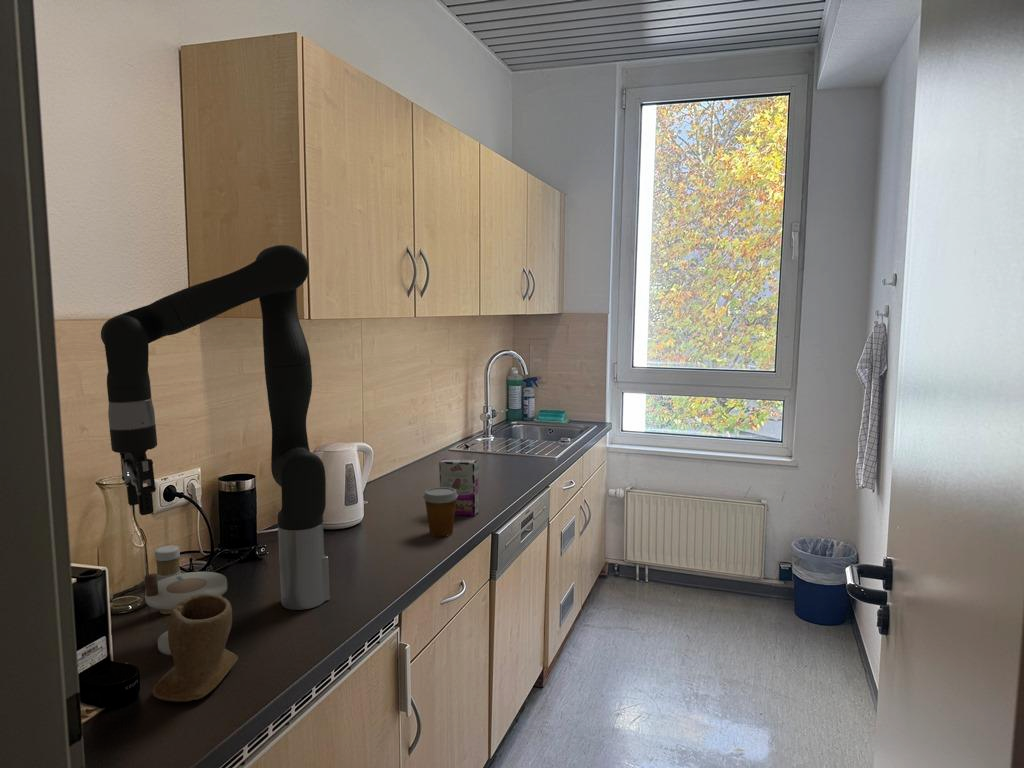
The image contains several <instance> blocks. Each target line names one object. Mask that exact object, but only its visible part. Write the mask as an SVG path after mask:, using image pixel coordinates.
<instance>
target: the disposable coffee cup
mask: <svg viewBox="0 0 1024 768" xmlns="http://www.w3.org/2000/svg"><path fill="white" fill-rule="evenodd" d="M457 497H458V494H457V492H456V490H455V489H453V488H447V487H440V486H439V487H432V488H428V489H426V490H425V491H424V493H423V499H424V501H425V508H426V515H427V523H428V528H429V534H431V535H430V536H432V535H434V536H433V537H435V536H445V537H448V536H447V535H449V536H451V535H453V531H454V522H455V516H456V515H455V507H456V499H457Z"/></svg>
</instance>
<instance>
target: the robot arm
mask: <svg viewBox="0 0 1024 768" xmlns="http://www.w3.org/2000/svg"><path fill="white" fill-rule="evenodd" d="M309 271H310V265H309V261H308V258H307V256H306V255H305V254H304V253H303V251H301V250H299V248H296V247H295V246H291V245H287V244H280V245H279V244H278V245H277V244H276V245H273V246H270V247H267V248H264V249H263V250H261V251H260V252H259V253H258V254H257V256H256V258H255V260H254V261H253V262H251V263H249V264H248V265H246V266H244V267H242V268H240V269H237V270H234V271H232V272H230V273H228V274H224V275H222V276H219V277H215V278H214V279H213V278H212V279H210V280H206V281H203V282H200V283H197V284H193V285H191V286H189V287H185V288H183V289H181V290H178V291H175V292H174V293H171V294H168V295H167V296H164V297H162V298H159V299H157V300H155V301H154V302H152V303H149V304H147V305H144V306H140V307H138V308H134V309H132V310H128V311H126V312H123V313H120V314H117V315H115V316H113V317H111V318H109V319H107V320H106V322H104V324H103V325H102V327H101V329H100V339H101V341H102V343H103V345H104V350H105V357H106V358H105V359H106V364H107V365H106V366H107V374H106V389H107V391H106V392H107V400H108V409H107V411H108V412H107V415H108V427H109V436H110V445H111V446H110V448H111V451H113V452H114V453H116V454H119V456H120V467H121V475H122V476H121V479H122V481H123V483H124V485H125V486H126V491H127V492H126V493H127V494H126V495H127V502H128V503H127V504H128V505H129V506H136V505H138V511H139V515H141V516H146V515H147V516H148V515H151V514H153V513H154V502H153V493H154V492H156V489H157V488H156V482H155V481H156V480H155V473H154V461H153V459H152V458H148V457H147V451H149V450H153V449H155V448H156V447H158V437H157V426H156V415H155V409H154V404H153V399H152V389H151V377H150V373H149V356H150V355H149V344H151V343H153V342H155V341H157V340H159V339H162V338H163V337H168V336H172V335H177V334H179V333H182V332H184V331H186V330H190V329H191V328H194V327H196V326H198V325H201V324H202V323H204V322H207V321H209V320H211V319H213V318H215V317H218V316H220V315H221V314H224V313H226V312H228V311H230V310H232V309H235V308H237V307H238V306H241V305H243V304H246V303H249V302H251V301H254V300H256V299H259V304H260V305H259V306H260V310H261V317H262V344H263V361H264V363H263V365H264V367H263V368H264V374H265V377H264V378H265V386H266V392H267V403H268V410H269V417H270V423H271V424H270V425H271V456H270V459H271V460H270V461H271V462H270V464H271V465H270V469H271V474H272V477H273V479H274V481H275V482H276V484H277V485H278V486H279V487H280V488H281V510H279V512H278V513H277V536H278V554H279V555H278V557H279V579H280V580H279V581H280V584H279V585H280V599H281V600H280V601H281V602H280V603H281V606H282V607H283V608H284V609H288V610H295V611H300V610H308V609H312V608H317V607H318V606H321V605H322V604H323V603H324V602H326V601H329V600H330V599H331V597H330V571H329V557H328V556H327V555H326V554H325V539H324V513H325V510H326V503H327V501H326V499H327V498H326V496H327V493H326V492H327V486H326V485H327V484H326V483H327V481H326V480H327V479H326V469H325V464H324V463H323V461H322V458H320V456H318V455H317V454H315V453H313V452H312V451H311V449H310V447H309V446H310V445H309V440H308V439H309V438H308V431H307V416H308V410H309V405H310V402H311V397H312V396H311V395H312V391H313V390H312V389H313V373H312V363H311V362H312V361H311V354H310V350H309V345H308V343H307V340H306V337H305V334H304V332H303V327H302V325H301V321H300V318H299V313H298V299H297V291H298V290H297V289H298V288H300V287H301V286H302V285H303V284H304V283H305V281H306V280H307V278H308V276H309V273H310V272H309ZM144 484H146V486H144Z"/></svg>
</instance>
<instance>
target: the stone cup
mask: <svg viewBox="0 0 1024 768" xmlns="http://www.w3.org/2000/svg"><path fill="white" fill-rule="evenodd" d="M232 608H233V607H232V605H231V602H230V601H229V600H228V599H227V598H226V597H224V596H223V595H222V596H219V595H215V594H198V595H193V596H190V597H188V598H186V599H184V600H182V601H181V602H179V603H178V604H177V605H176V607H175V608H174V609H173V611H172V613H171V614H170V616H169V621H168V630H167V631H168V643H169V649H170V652H171V654H172V655H171V657H172V659H173V664H174V666H173V667H171V668H170V669H169V670H168V671H167V672H166V673H165V674H164V675H163V676H162V677H161V678H160V679H159V681H158V682H157V683H155V686H154V687H153V689H152V695H153V696H154V697H155V698H157V699H158V700H163V701H167V702H175V703H176V702H181V703H182V702H184V703H185V702H190V701H194V700H195V701H196V700H200V699H202V698H204V697H205V696H207V695H208V694H210V693H211V692H212V691H214V689H216V687H217V686H218V685H220V683H221V682H222V680H223V679H224V678H225V676H226V675H227V674H228V673H229V672H230V671H231V669H232V668H233V666H234V665H235V664H236V663H237V661H238V659H239V657H238V655H237V654H235V653H234V652H232V651H230V650H229V649H227V648H226V644H227V642H228V638H229V635H230V632H231V629H232V624H233V609H232Z"/></svg>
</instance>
